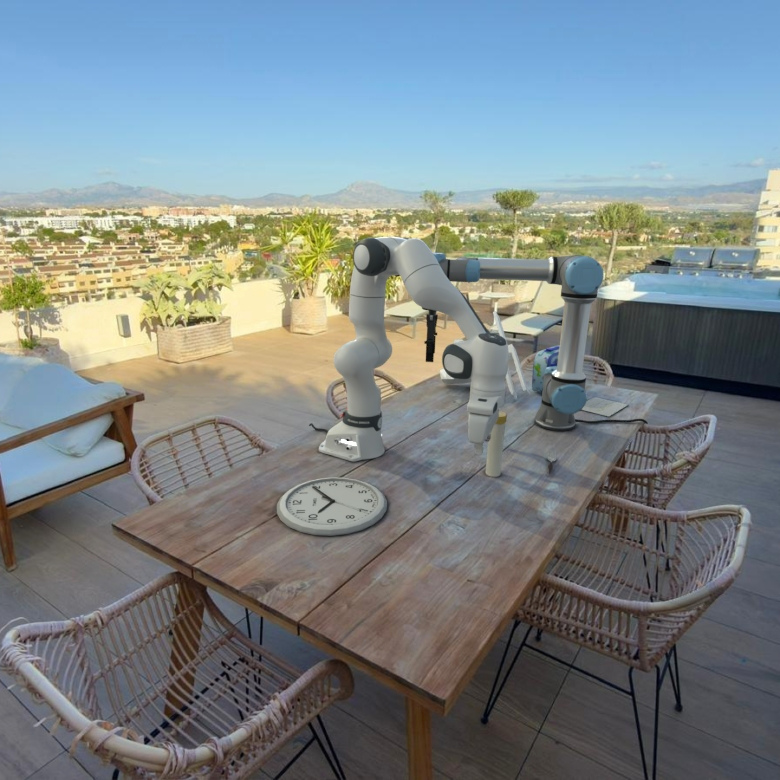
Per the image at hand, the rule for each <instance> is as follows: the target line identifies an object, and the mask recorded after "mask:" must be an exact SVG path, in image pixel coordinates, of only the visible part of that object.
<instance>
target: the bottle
mask: <svg viewBox="0 0 780 780" xmlns="http://www.w3.org/2000/svg"><path fill="white" fill-rule="evenodd" d="M505 427H506V423H504V424H495V425H494V427H493V429H492V433H491V439H490V441H489V442H487V448H486V459H485V475H486V476H488V477H492V478H498V477H500V476H501V474H502V464H503V463H502V461H503V451H504V440H505V429H506V428H505Z"/></svg>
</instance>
